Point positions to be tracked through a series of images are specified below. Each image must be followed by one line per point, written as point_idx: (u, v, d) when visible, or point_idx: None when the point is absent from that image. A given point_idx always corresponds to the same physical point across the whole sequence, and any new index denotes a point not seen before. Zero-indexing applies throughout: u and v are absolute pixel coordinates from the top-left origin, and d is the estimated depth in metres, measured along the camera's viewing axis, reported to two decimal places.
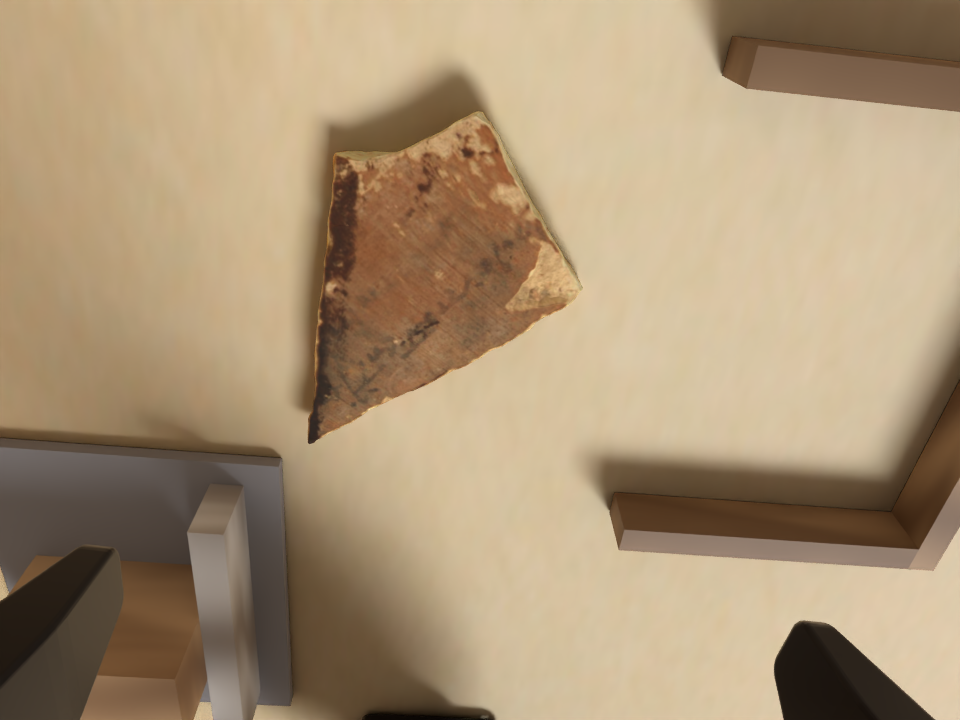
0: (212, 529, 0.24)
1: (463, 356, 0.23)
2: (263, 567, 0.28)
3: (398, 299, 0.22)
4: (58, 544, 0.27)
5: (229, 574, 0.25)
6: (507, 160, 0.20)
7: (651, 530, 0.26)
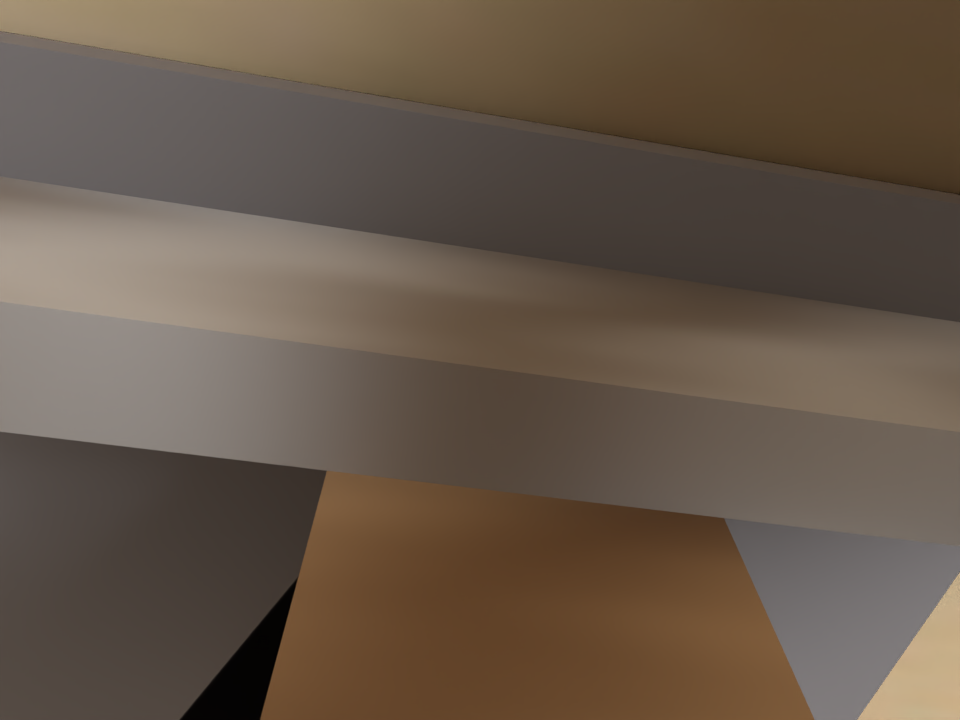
0: None
1: None
2: (369, 186, 0.07)
3: None
4: None
5: (37, 298, 0.05)
6: None
7: None
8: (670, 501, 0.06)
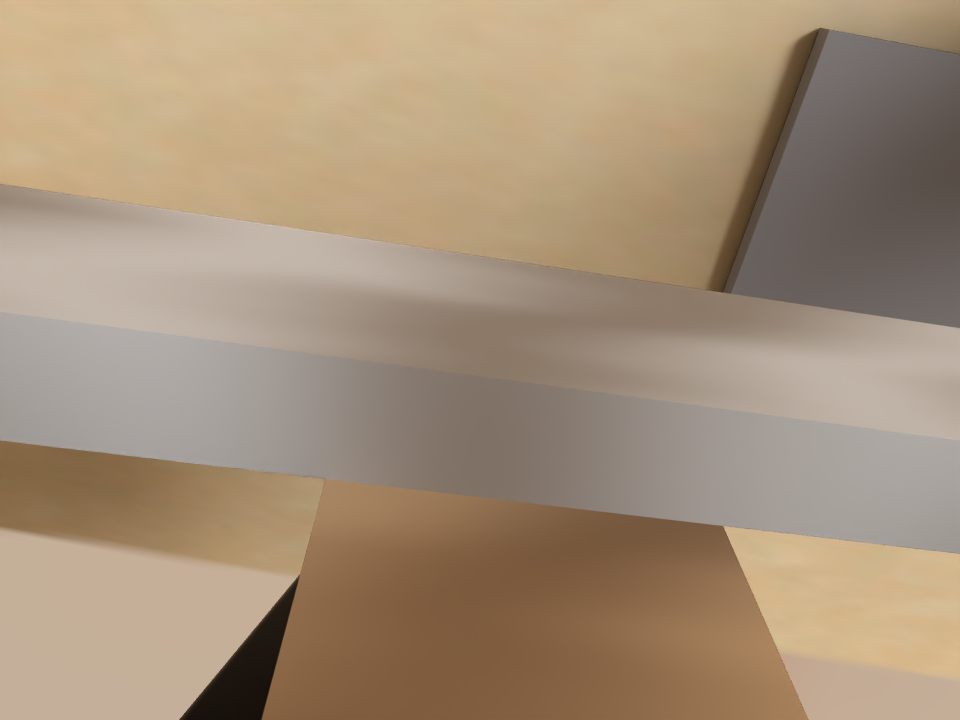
0: None
1: None
2: None
3: None
4: None
5: (36, 307, 0.05)
6: None
7: None
8: (669, 509, 0.06)
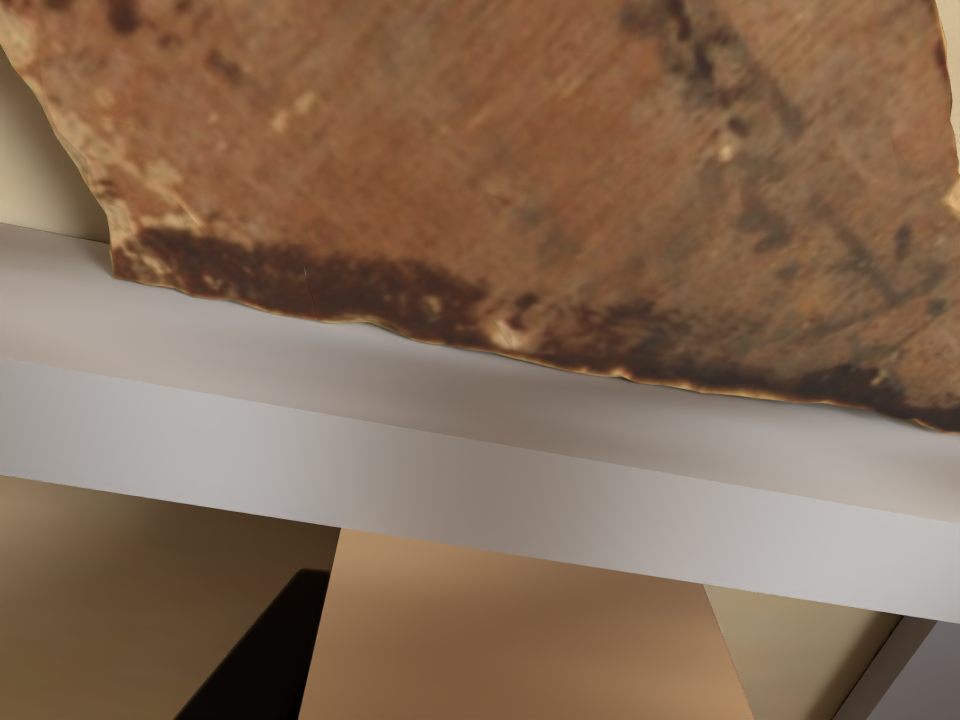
0: None
1: None
2: None
3: (559, 132, 0.06)
4: None
5: (87, 363, 0.06)
6: None
7: None
8: (654, 567, 0.07)
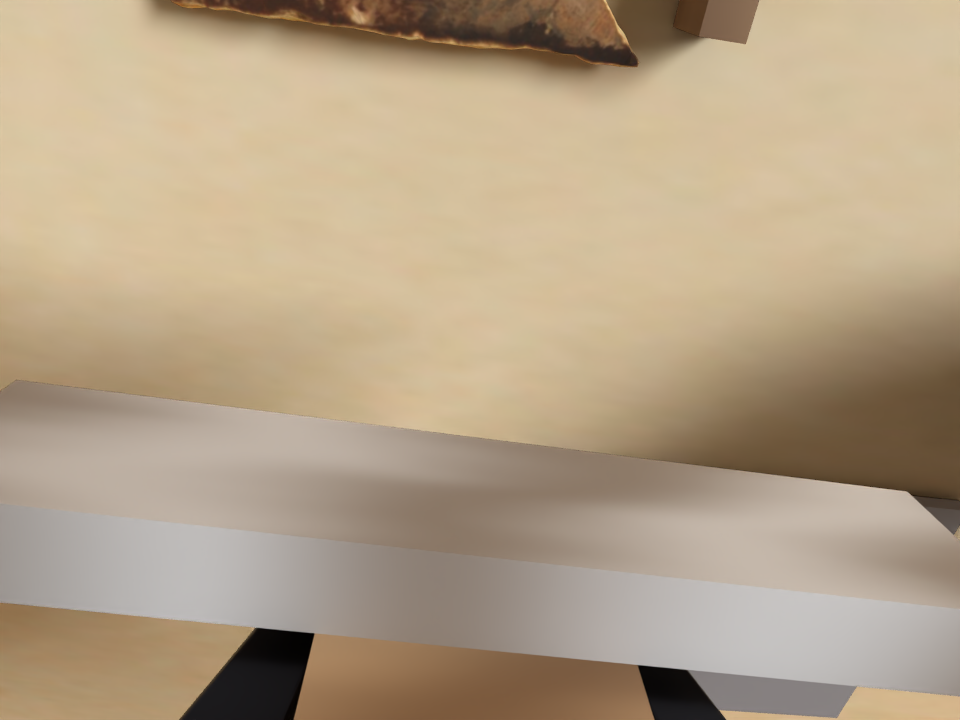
0: None
1: None
2: None
3: None
4: None
5: (95, 505, 0.07)
6: None
7: None
8: (592, 652, 0.08)
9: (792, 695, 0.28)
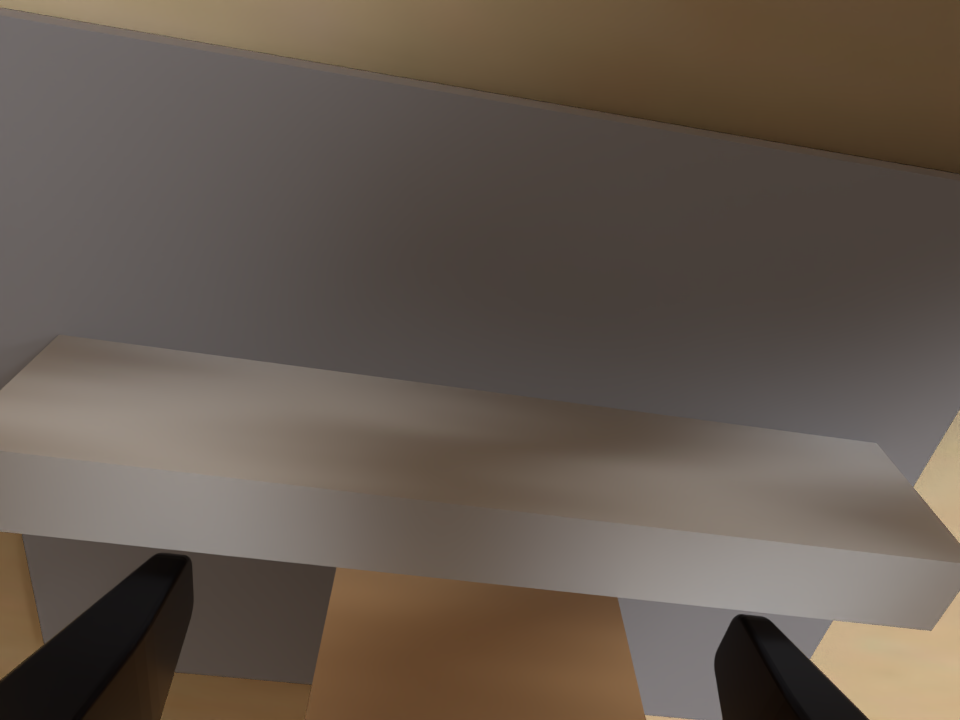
0: None
1: None
2: (383, 152, 0.09)
3: None
4: (305, 592, 0.12)
5: (143, 460, 0.08)
6: None
7: None
8: (578, 586, 0.09)
9: (676, 678, 0.14)
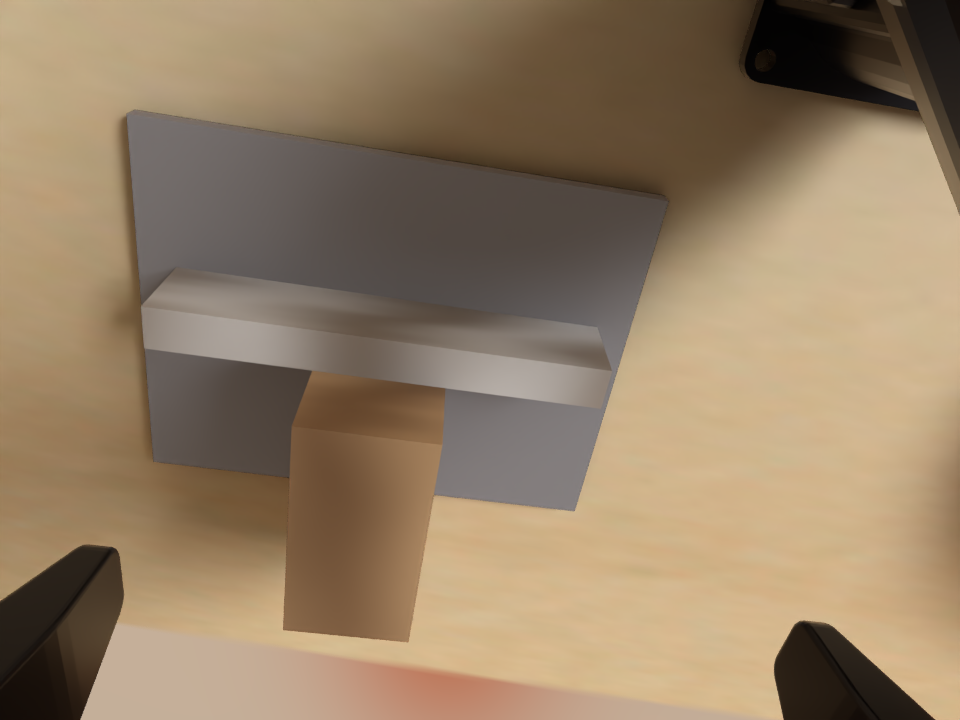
0: (145, 318, 0.18)
1: None
2: (333, 178, 0.19)
3: None
4: None
5: (225, 315, 0.18)
6: None
7: None
8: (425, 381, 0.19)
9: (514, 476, 0.24)
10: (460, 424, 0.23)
